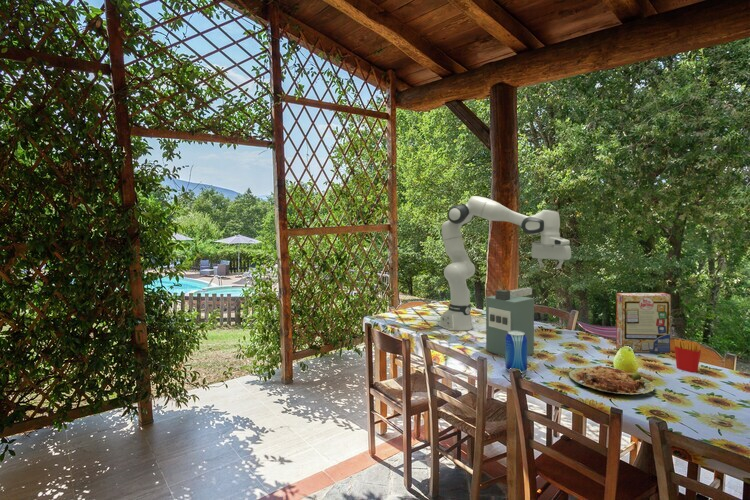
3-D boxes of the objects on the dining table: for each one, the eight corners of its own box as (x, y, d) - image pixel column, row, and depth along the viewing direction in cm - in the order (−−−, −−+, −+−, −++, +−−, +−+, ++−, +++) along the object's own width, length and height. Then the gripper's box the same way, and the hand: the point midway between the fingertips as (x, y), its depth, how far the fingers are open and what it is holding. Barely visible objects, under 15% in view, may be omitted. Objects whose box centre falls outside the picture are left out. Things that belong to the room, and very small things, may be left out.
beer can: (528, 375, 153) (528, 336, 152) (506, 374, 155) (506, 335, 153) (525, 367, 161) (525, 330, 160) (504, 366, 163) (504, 329, 162)
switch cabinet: (484, 351, 182) (483, 297, 181) (505, 344, 191) (504, 293, 189) (512, 360, 169) (512, 302, 167) (533, 353, 178) (533, 298, 176)
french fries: (701, 371, 152) (702, 342, 151) (697, 374, 150) (698, 344, 149) (675, 365, 159) (676, 337, 159) (671, 367, 157) (672, 338, 156)
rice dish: (568, 367, 163) (567, 355, 163) (646, 375, 151) (646, 361, 151) (569, 394, 138) (569, 380, 138) (663, 406, 126) (663, 389, 125)
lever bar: (495, 298, 177) (495, 290, 177) (524, 293, 189) (524, 285, 189) (504, 300, 173) (504, 291, 173) (533, 294, 185) (533, 286, 185)
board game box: (663, 349, 179) (664, 292, 177) (670, 354, 173) (672, 295, 171) (615, 348, 182) (616, 292, 180) (621, 352, 176) (622, 294, 174)
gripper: (528, 240, 202) (528, 266, 203) (565, 241, 185) (565, 269, 186) (535, 240, 206) (535, 265, 206) (573, 240, 188) (572, 268, 189)
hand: (550, 267), depth 196 cm, fingers open, 8 cm apart
